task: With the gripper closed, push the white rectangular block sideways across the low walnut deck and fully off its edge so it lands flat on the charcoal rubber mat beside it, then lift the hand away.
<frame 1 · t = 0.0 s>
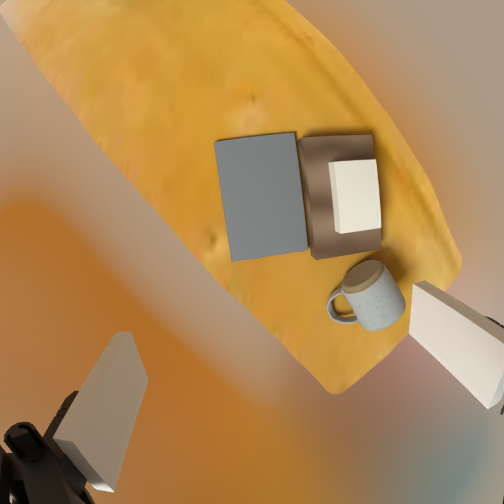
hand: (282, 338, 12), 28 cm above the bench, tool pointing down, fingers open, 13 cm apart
ceramic mug: (355, 291, 43), on the bench
white rectangular block: (352, 194, 37), point 2 cm above the bench, touching deck
deck: (339, 194, 39), on the bench
mat: (262, 196, 38), on the bench
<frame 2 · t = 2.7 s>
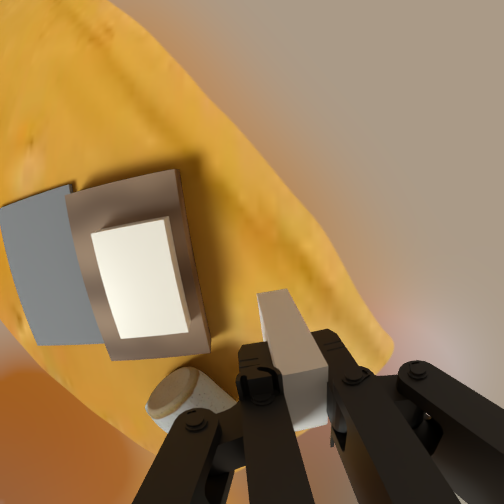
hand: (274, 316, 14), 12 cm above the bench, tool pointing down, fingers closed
ceramic mug: (191, 395, 30), on the bench
white rectangular block: (144, 276, 23), point 2 cm above the bench, touching deck
deck: (141, 268, 25), on the bench
mat: (48, 273, 25), on the bench
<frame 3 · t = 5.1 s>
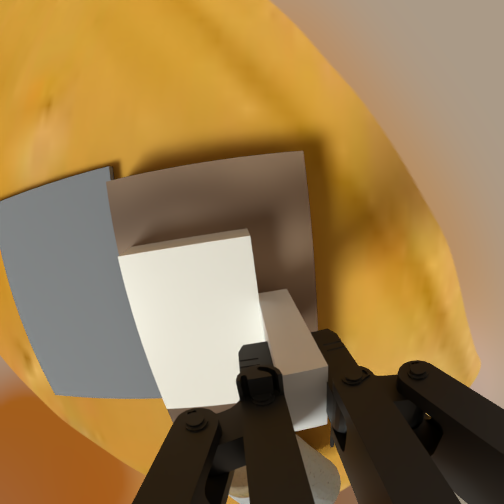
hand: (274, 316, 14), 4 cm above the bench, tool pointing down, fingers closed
ceramic mug: (261, 450, 22), on the bench
white rectangular block: (203, 319, 15), point 2 cm above the bench, touching deck, gripper
deck: (225, 298, 18), on the bench
mat: (70, 302, 17), on the bench
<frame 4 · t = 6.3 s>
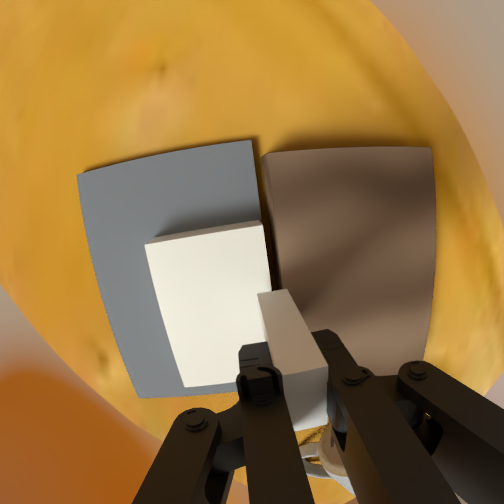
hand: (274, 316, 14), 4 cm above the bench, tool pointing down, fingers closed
ceramic mug: (345, 433, 22), on the bench
white rectangular block: (219, 302, 17), point 1 cm above the bench, touching mat
deck: (352, 277, 18), on the bench
mat: (181, 288, 18), on the bench
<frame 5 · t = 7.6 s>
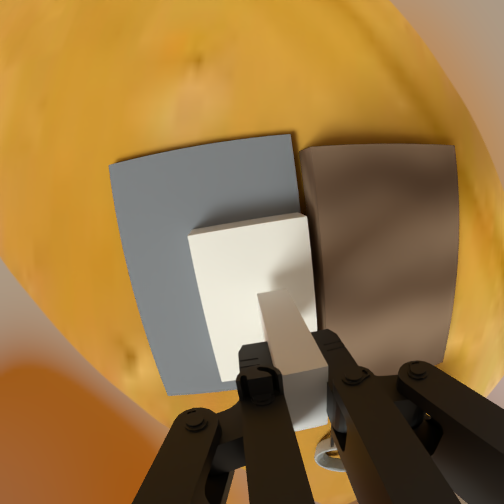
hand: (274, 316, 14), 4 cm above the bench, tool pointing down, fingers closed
ceramic mug: (365, 426, 23), on the bench
white rectangular block: (257, 295, 17), point 1 cm above the bench, touching mat
deck: (382, 268, 18), on the bench
mat: (218, 281, 18), on the bench
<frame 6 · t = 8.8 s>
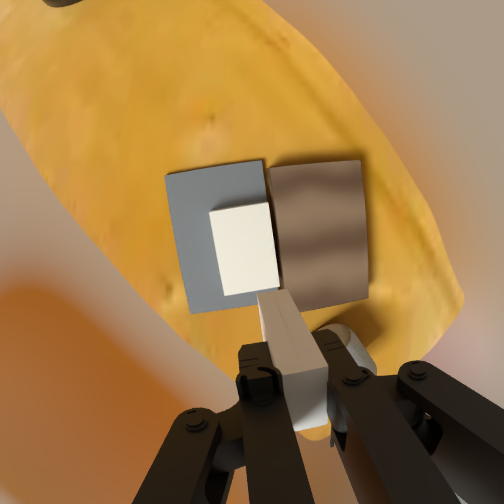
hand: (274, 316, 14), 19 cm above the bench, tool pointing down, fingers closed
ceramic mug: (321, 353, 37), on the bench
white rectangular block: (244, 246, 32), point 1 cm above the bench, touching mat
deck: (318, 234, 33), on the bench
mat: (223, 239, 33), on the bench
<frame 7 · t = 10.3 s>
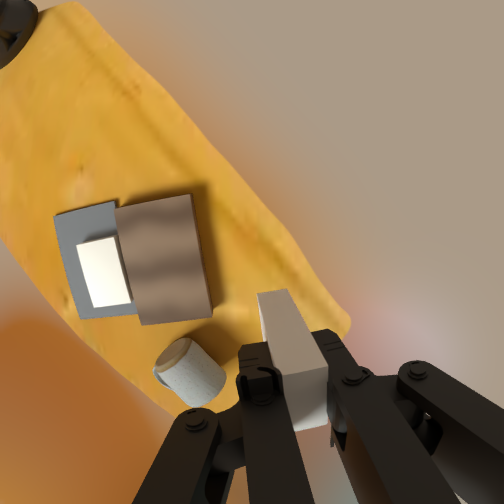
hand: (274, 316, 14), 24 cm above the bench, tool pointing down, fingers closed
ceramic mug: (186, 362, 42), on the bench
white rectangular block: (107, 269, 37), point 1 cm above the bench, touching mat
deck: (165, 259, 38), on the bench
mat: (95, 263, 37), on the bench
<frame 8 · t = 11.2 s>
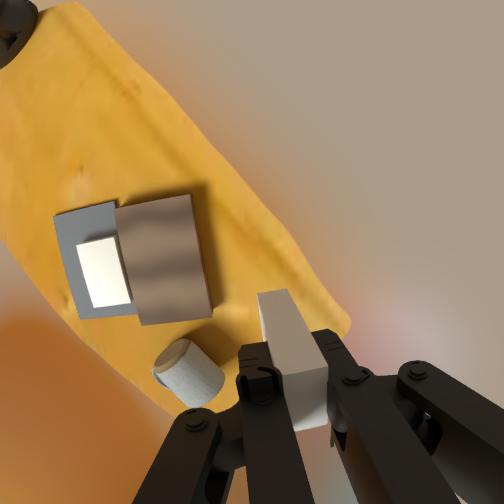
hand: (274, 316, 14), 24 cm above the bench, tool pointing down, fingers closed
ceramic mug: (185, 362, 42), on the bench
white rectangular block: (107, 269, 37), point 1 cm above the bench, touching mat
deck: (165, 259, 38), on the bench
mat: (94, 263, 37), on the bench
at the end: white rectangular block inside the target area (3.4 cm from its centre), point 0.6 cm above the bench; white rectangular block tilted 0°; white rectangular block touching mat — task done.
